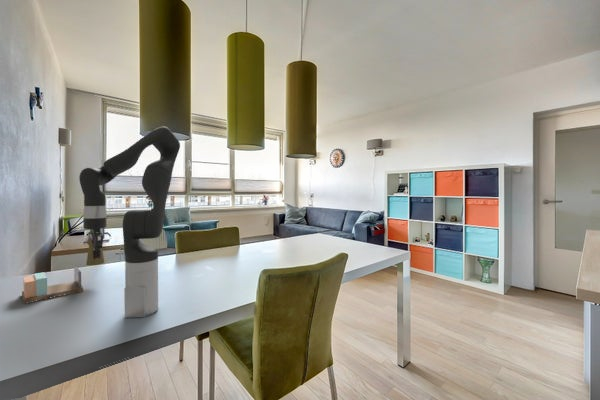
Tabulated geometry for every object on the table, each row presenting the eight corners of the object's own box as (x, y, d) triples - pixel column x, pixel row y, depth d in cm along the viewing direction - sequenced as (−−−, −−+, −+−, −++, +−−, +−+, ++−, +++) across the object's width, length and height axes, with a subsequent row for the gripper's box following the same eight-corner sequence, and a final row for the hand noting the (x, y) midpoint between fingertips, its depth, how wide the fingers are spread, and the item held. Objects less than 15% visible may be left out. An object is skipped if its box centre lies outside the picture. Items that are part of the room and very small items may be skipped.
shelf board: (23, 304, 90) (23, 299, 90) (22, 295, 98) (22, 291, 98) (83, 291, 102) (83, 287, 102) (77, 284, 110) (77, 280, 110)
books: (25, 298, 91) (24, 281, 91) (23, 291, 97) (23, 275, 97) (47, 293, 95) (47, 277, 95) (44, 287, 101) (44, 272, 101)
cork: (107, 262, 110) (107, 236, 110) (90, 266, 105) (90, 238, 105) (100, 260, 113) (100, 235, 113) (83, 263, 108) (83, 237, 108)
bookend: (78, 287, 102) (78, 272, 102) (74, 281, 108) (74, 267, 108) (81, 286, 103) (81, 271, 102) (77, 281, 109) (76, 266, 108)
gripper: (110, 217, 107) (111, 259, 107) (101, 215, 116) (101, 253, 117) (87, 218, 101) (87, 262, 102) (79, 216, 110) (80, 256, 111)
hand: (95, 257), depth 109 cm, fingers closed on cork, 4 cm apart
